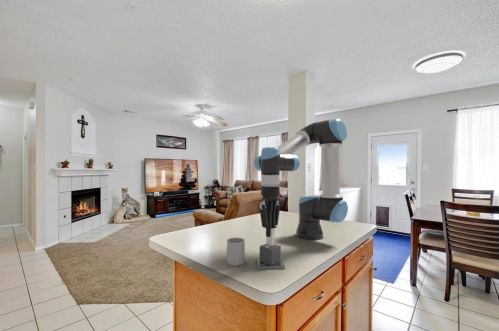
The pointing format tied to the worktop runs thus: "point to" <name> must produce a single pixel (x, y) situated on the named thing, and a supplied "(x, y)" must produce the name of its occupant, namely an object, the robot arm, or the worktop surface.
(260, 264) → the base plate
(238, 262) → the cup
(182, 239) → the worktop surface
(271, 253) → the dark grey cube
